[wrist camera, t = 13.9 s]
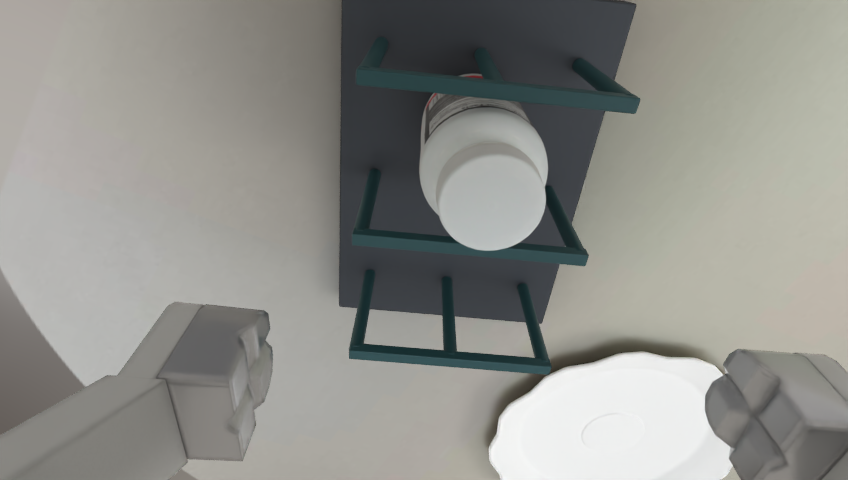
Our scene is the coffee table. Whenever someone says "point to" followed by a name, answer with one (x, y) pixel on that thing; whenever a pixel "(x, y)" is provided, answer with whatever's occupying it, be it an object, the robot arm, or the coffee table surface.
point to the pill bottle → (482, 169)
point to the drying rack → (401, 145)
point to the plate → (614, 423)
